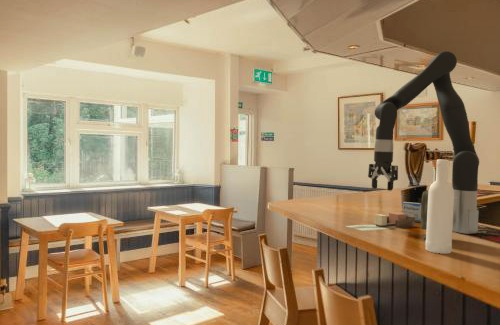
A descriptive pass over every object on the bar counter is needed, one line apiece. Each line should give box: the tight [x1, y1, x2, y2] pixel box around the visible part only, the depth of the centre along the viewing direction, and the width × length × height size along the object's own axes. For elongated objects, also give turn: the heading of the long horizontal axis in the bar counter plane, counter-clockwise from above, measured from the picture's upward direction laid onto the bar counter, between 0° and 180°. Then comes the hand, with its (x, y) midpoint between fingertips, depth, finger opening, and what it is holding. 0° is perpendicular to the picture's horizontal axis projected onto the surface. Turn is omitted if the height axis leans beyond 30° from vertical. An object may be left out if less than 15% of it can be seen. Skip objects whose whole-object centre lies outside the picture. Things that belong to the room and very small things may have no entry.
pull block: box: [373, 211, 406, 227], centre depth 180 cm, size 5×14×5 cm, turn 119°
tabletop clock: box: [419, 189, 454, 241], centre depth 157 cm, size 14×9×25 cm, turn 147°
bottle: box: [424, 158, 454, 255], centre depth 138 cm, size 8×8×30 cm
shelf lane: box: [345, 215, 417, 232], centre depth 178 cm, size 11×30×4 cm, turn 119°
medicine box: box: [401, 201, 421, 223], centre depth 197 cm, size 8×4×9 cm, turn 62°
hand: (381, 189), depth 177 cm, fingers open, 8 cm apart
